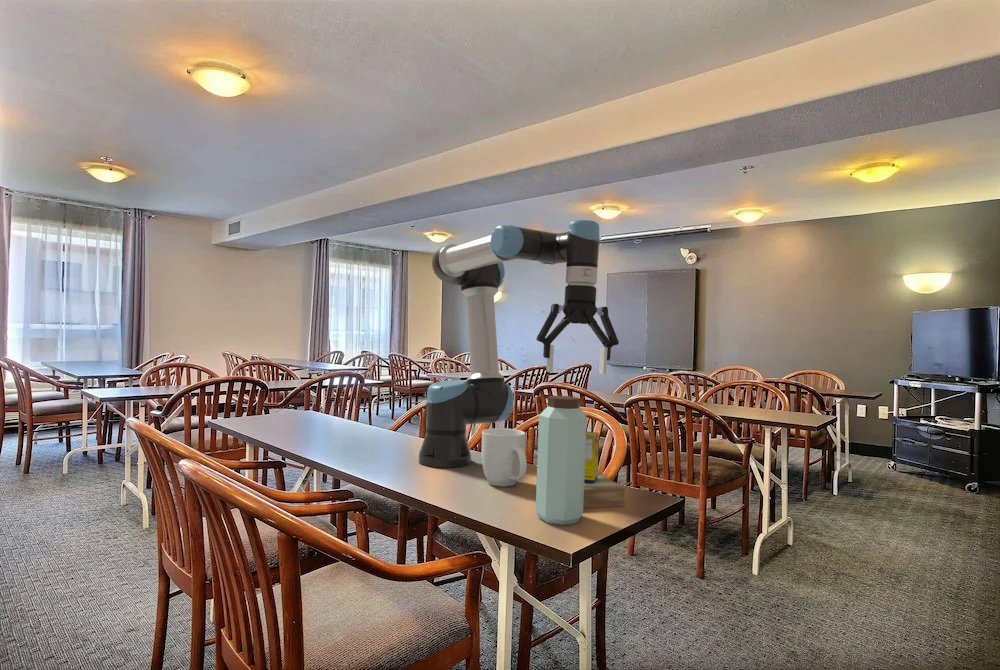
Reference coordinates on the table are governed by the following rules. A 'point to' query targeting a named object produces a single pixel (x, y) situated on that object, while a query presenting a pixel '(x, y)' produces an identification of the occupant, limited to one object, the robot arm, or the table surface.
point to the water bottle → (561, 461)
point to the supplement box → (591, 457)
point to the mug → (503, 456)
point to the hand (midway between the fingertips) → (576, 373)
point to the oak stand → (603, 493)
